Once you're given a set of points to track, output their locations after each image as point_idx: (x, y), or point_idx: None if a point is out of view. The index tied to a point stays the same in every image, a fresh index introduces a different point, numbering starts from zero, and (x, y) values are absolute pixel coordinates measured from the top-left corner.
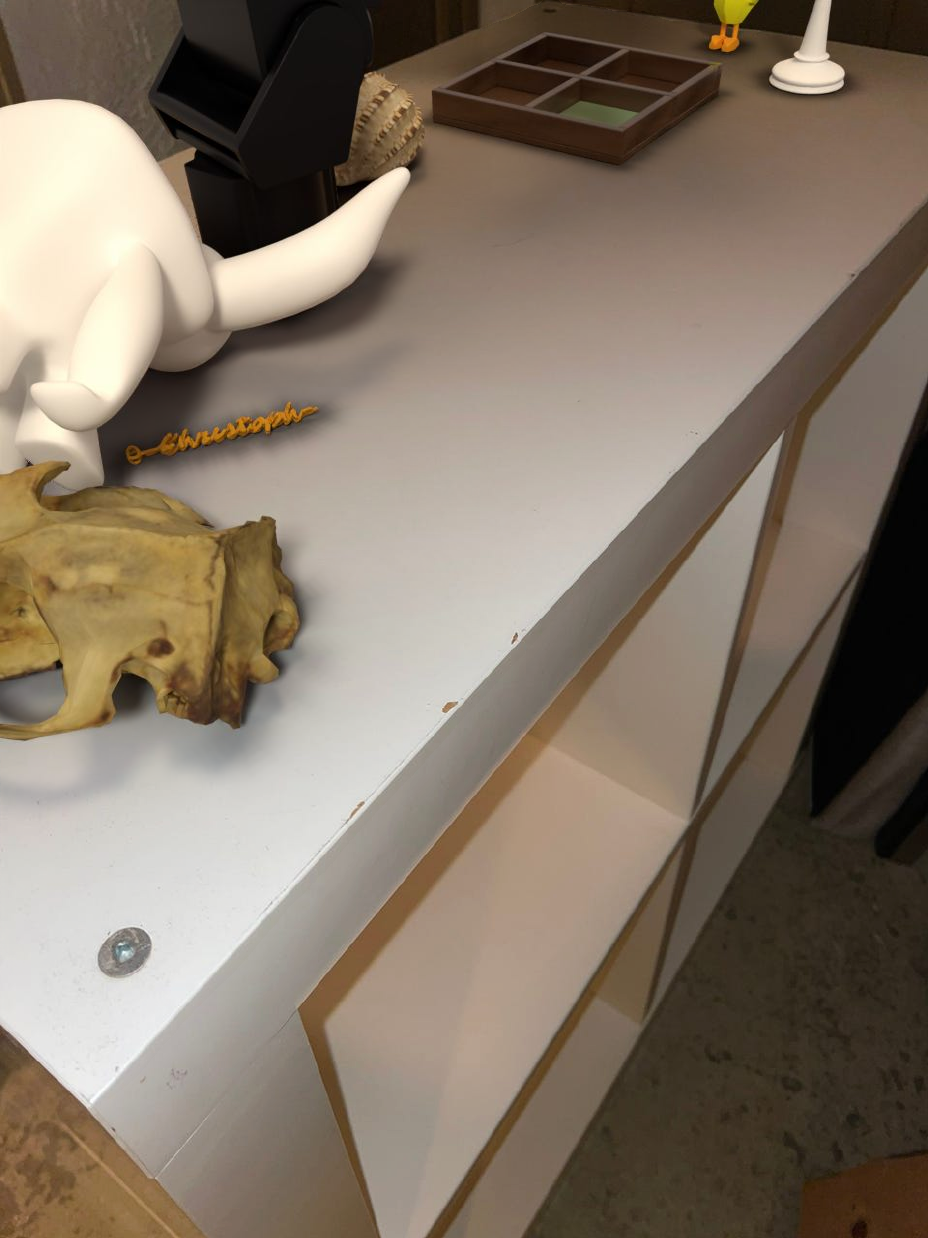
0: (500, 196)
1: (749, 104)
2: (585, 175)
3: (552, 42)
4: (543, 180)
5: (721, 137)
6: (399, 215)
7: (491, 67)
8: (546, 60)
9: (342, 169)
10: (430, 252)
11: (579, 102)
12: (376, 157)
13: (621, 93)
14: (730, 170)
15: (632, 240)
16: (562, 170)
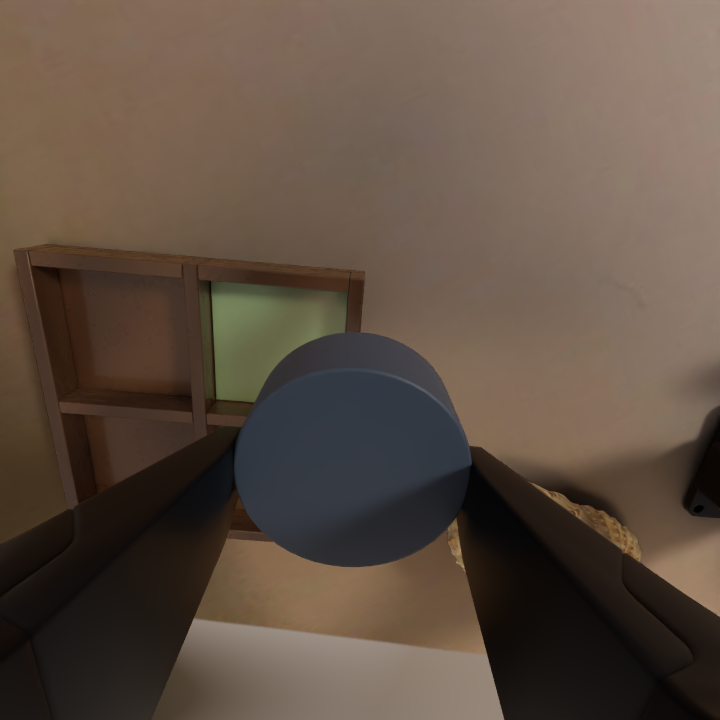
0: (510, 362)
1: (51, 182)
2: (412, 297)
3: None
4: (447, 338)
5: (198, 174)
6: (594, 433)
7: None
8: None
9: (595, 517)
10: (675, 362)
11: (223, 397)
12: (568, 501)
13: (206, 347)
14: (306, 112)
15: (581, 154)
16: (409, 330)
